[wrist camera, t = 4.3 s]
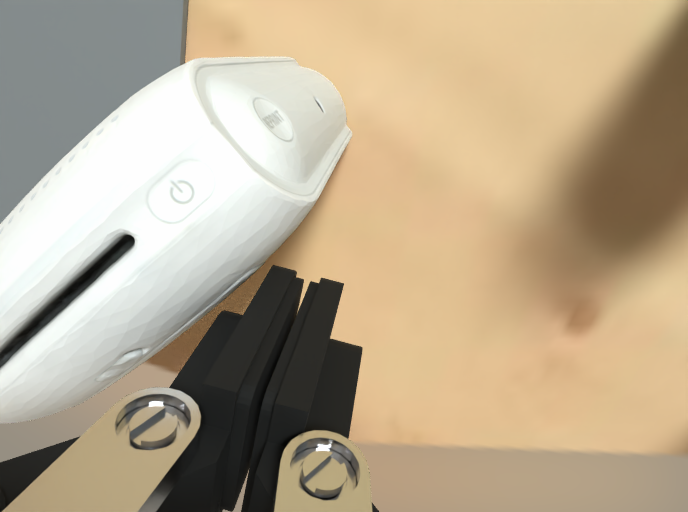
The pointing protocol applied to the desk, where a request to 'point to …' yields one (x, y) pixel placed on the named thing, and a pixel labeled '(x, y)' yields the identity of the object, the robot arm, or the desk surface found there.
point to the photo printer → (157, 222)
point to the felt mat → (74, 75)
